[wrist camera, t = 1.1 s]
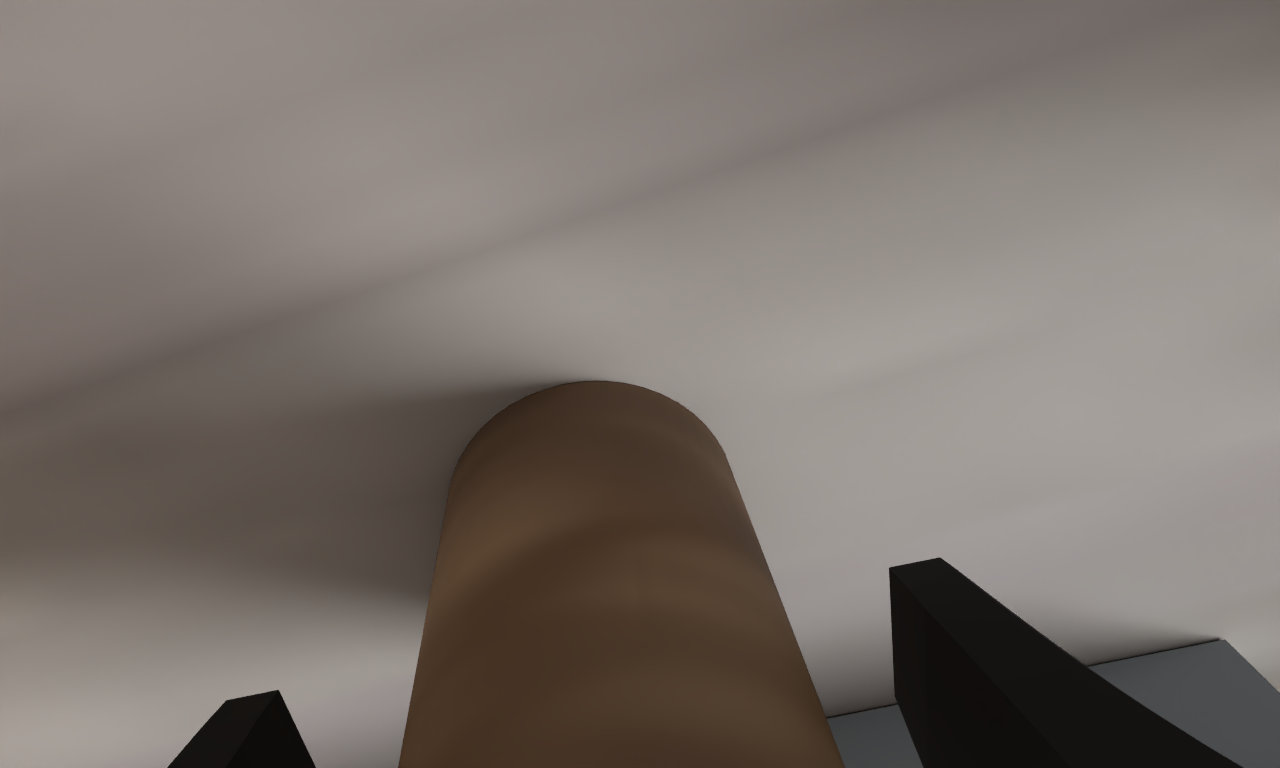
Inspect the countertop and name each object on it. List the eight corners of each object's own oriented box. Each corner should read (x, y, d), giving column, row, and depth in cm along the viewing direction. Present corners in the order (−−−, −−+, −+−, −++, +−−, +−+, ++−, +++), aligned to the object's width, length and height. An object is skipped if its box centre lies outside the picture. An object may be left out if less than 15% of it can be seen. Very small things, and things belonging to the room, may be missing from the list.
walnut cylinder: (716, 354, 12) (892, 738, 6) (749, 593, 14) (907, 1068, 8) (412, 414, 12) (278, 864, 6) (487, 645, 14) (444, 1165, 8)
